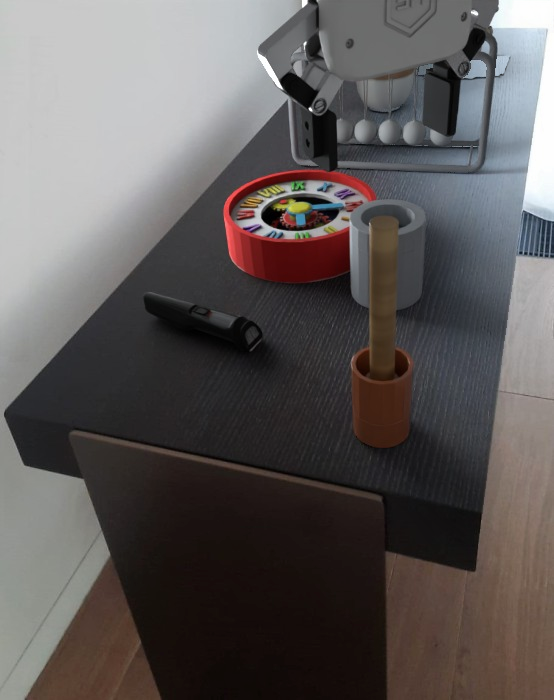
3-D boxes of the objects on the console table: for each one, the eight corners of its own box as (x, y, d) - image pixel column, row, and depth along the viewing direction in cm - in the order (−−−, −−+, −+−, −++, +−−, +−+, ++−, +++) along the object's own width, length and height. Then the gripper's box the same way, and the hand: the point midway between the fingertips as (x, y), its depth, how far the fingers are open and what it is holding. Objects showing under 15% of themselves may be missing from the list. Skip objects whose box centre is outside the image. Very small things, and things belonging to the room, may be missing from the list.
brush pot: (421, 434, 66) (425, 369, 61) (372, 456, 64) (372, 391, 59) (389, 400, 70) (390, 337, 65) (342, 420, 68) (340, 357, 63)
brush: (406, 408, 64) (413, 224, 53) (376, 421, 63) (377, 237, 52) (386, 388, 67) (390, 208, 55) (357, 400, 66) (354, 219, 54)
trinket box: (362, 120, 127) (362, 67, 121) (350, 101, 135) (349, 50, 129) (420, 113, 127) (423, 59, 121) (405, 93, 136) (406, 42, 130)
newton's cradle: (487, 146, 114) (499, 30, 103) (483, 175, 106) (496, 52, 95) (307, 141, 122) (300, 32, 111) (291, 167, 114) (283, 53, 103)
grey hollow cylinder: (436, 296, 83) (441, 221, 77) (375, 319, 80) (375, 243, 74) (396, 265, 89) (397, 192, 83) (338, 285, 86) (335, 212, 80)
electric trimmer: (160, 304, 87) (155, 282, 85) (265, 336, 80) (262, 313, 78) (140, 320, 84) (134, 299, 82) (247, 355, 77) (243, 332, 75)
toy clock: (226, 176, 100) (367, 164, 99) (231, 213, 103) (367, 201, 103) (219, 248, 84) (386, 234, 83) (225, 289, 88) (386, 276, 87)
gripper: (277, -124, 34) (298, 200, 44) (557, -165, 39) (515, 134, 50) (217, -132, 39) (249, 159, 50) (470, -167, 44) (449, 104, 55)
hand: (381, 147), depth 50 cm, fingers open, 9 cm apart
